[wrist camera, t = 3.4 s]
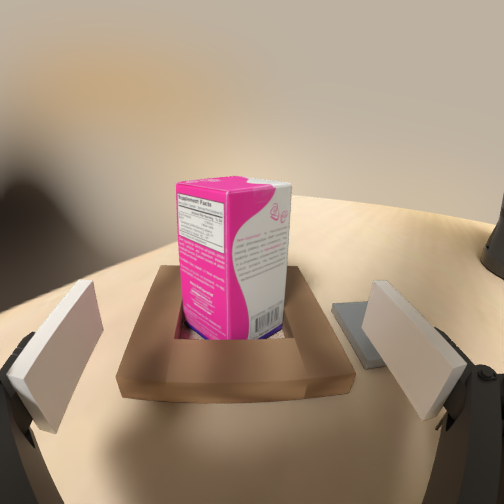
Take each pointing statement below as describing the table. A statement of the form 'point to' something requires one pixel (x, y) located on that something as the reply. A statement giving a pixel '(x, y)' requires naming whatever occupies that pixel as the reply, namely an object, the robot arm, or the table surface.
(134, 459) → the table surface
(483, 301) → the table surface
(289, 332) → the board
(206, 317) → the supplement box
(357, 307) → the coaster
